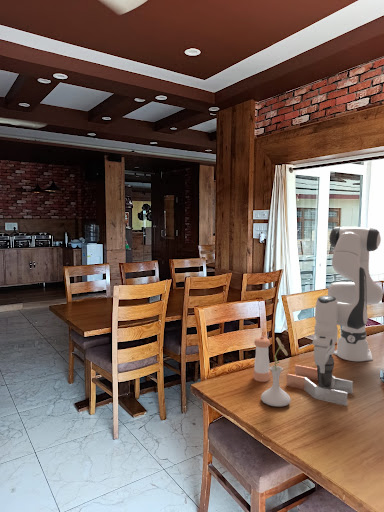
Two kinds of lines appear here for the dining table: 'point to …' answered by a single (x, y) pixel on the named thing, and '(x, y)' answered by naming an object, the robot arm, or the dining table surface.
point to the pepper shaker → (261, 360)
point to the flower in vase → (276, 385)
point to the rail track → (330, 395)
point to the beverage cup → (326, 374)
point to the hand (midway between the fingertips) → (324, 369)
